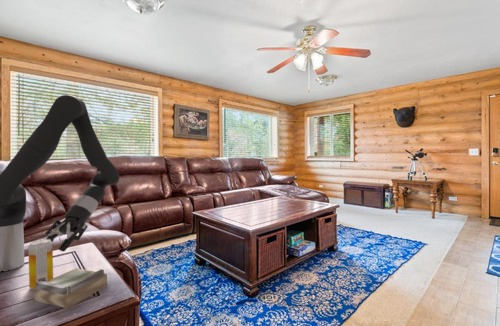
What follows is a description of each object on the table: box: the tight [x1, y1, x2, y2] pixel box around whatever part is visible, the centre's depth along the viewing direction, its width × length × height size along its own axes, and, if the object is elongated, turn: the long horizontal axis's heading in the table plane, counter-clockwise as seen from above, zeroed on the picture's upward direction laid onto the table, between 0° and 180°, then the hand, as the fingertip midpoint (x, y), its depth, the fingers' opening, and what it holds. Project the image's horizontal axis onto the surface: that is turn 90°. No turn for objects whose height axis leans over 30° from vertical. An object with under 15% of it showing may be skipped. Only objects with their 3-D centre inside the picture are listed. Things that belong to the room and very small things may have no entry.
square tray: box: [33, 267, 108, 310], centre depth 77 cm, size 14×13×6 cm
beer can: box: [27, 238, 54, 291], centre depth 81 cm, size 6×6×15 cm
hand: (52, 249), depth 84 cm, fingers open, 8 cm apart
